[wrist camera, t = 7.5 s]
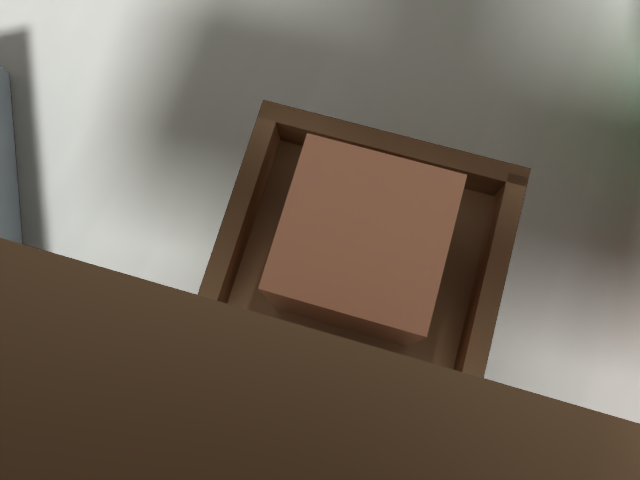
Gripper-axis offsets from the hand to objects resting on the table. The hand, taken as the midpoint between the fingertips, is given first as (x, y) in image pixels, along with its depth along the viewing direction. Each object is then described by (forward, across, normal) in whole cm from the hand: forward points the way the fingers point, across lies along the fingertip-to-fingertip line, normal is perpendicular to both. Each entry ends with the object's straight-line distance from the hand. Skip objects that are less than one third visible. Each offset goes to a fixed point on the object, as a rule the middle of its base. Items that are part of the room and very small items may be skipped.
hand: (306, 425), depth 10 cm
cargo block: (+7, 0, +1) cm, 7 cm away
